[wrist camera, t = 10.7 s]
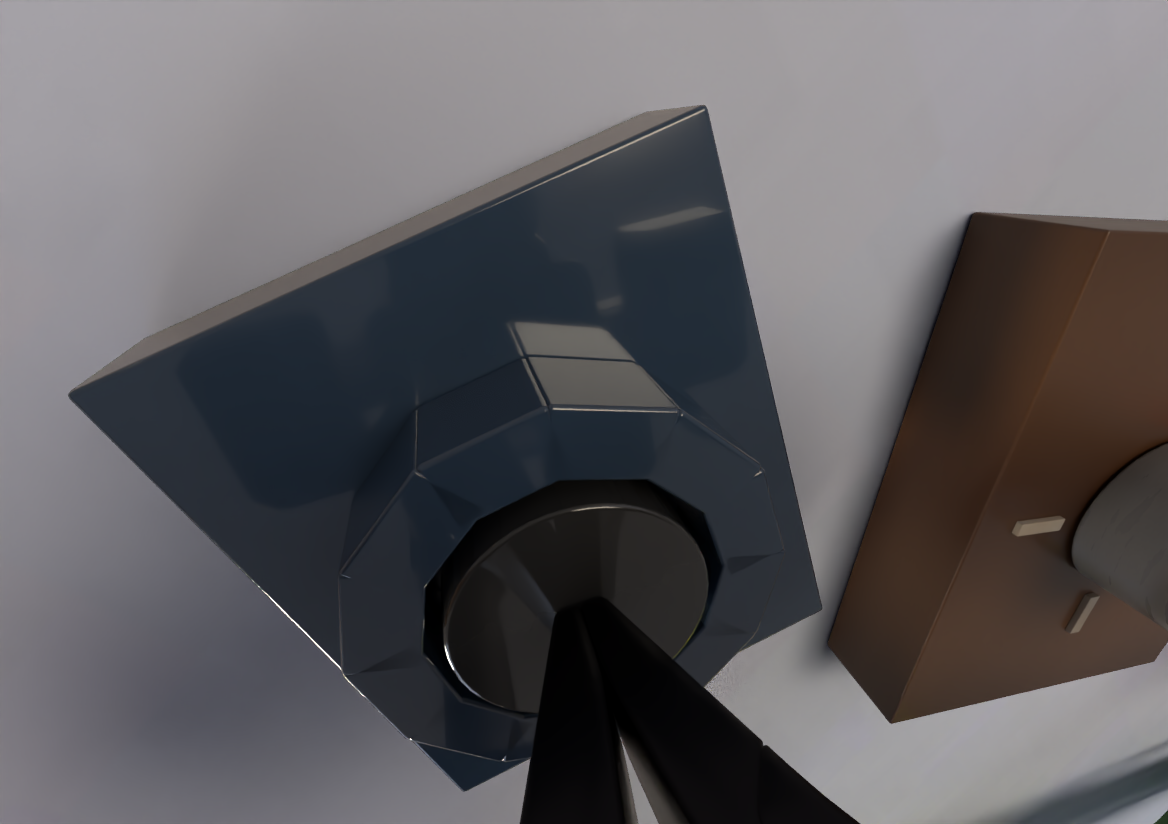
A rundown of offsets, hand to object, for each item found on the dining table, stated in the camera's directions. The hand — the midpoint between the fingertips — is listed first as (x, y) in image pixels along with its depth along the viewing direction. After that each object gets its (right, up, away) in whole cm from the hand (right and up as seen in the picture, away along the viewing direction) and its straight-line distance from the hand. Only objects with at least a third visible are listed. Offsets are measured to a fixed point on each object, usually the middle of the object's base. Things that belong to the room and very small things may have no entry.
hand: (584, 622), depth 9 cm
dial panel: (+14, +2, +8) cm, 16 cm away
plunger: (0, +1, +2) cm, 2 cm away
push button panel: (-1, +2, +4) cm, 5 cm away
